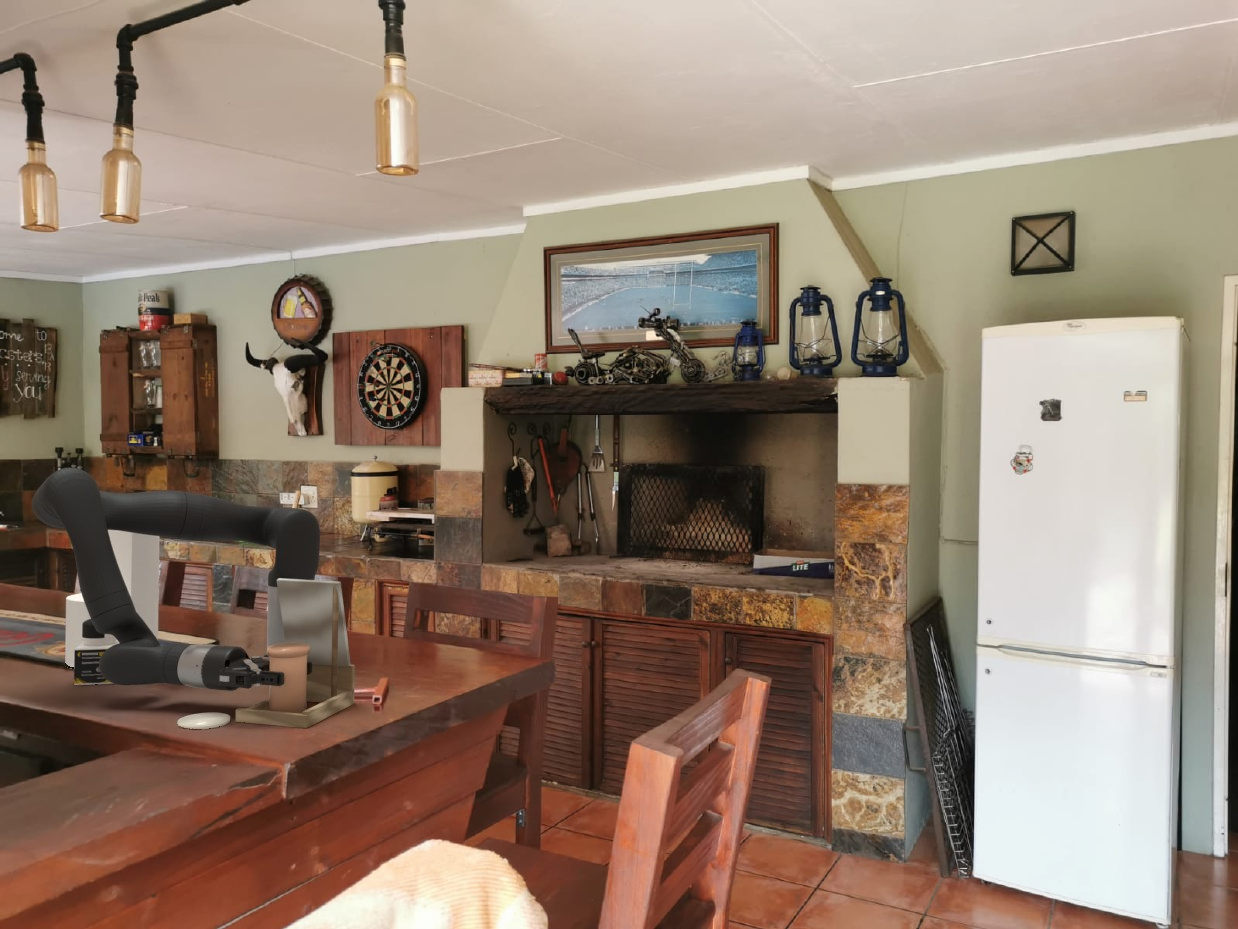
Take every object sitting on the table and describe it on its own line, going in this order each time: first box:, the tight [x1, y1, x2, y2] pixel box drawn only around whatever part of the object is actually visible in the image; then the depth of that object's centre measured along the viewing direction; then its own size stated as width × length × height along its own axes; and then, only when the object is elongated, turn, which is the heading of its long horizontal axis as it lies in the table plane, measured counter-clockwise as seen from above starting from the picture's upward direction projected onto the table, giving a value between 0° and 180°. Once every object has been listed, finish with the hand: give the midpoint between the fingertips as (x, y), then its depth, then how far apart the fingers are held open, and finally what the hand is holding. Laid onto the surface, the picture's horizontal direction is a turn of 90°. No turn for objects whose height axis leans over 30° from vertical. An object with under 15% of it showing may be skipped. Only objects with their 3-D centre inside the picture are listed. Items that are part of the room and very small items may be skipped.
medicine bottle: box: [73, 619, 119, 686], centre depth 183 cm, size 7×7×12 cm
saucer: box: [176, 712, 231, 730], centre depth 156 cm, size 8×8×1 cm
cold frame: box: [235, 578, 356, 729], centre depth 164 cm, size 16×13×23 cm
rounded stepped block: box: [64, 530, 161, 667], centre depth 200 cm, size 17×17×28 cm
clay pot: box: [266, 643, 310, 714], centre depth 161 cm, size 7×7×12 cm
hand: (297, 673), depth 160 cm, fingers open, 8 cm apart
